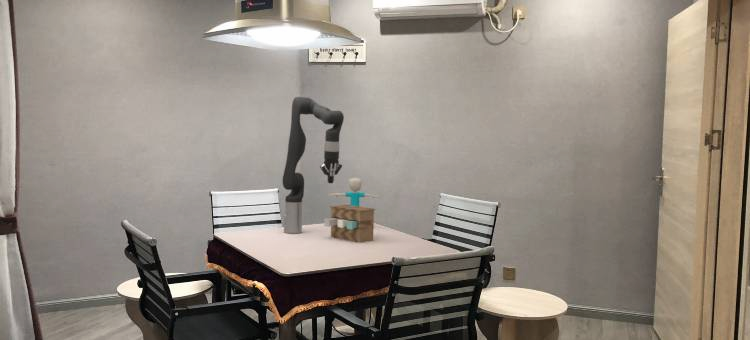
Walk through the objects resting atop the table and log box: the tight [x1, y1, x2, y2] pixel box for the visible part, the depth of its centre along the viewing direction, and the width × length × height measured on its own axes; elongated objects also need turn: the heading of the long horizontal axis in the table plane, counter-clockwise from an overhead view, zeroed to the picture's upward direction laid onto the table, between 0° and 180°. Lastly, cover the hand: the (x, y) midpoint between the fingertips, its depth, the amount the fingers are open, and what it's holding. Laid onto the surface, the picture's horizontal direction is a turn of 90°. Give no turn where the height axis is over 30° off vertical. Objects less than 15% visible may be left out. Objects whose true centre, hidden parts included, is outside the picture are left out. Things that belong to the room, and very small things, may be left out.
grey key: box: [323, 217, 339, 228], centre depth 351 cm, size 4×9×4 cm, turn 136°
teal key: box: [347, 221, 358, 229], centre depth 343 cm, size 4×9×4 cm, turn 136°
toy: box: [328, 177, 382, 207], centre depth 385 cm, size 30×9×30 cm, turn 84°
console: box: [329, 204, 376, 244], centre depth 351 cm, size 23×11×17 cm, turn 46°
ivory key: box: [338, 219, 348, 228], centre depth 348 cm, size 4×9×4 cm, turn 136°
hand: (330, 183), depth 340 cm, fingers closed
